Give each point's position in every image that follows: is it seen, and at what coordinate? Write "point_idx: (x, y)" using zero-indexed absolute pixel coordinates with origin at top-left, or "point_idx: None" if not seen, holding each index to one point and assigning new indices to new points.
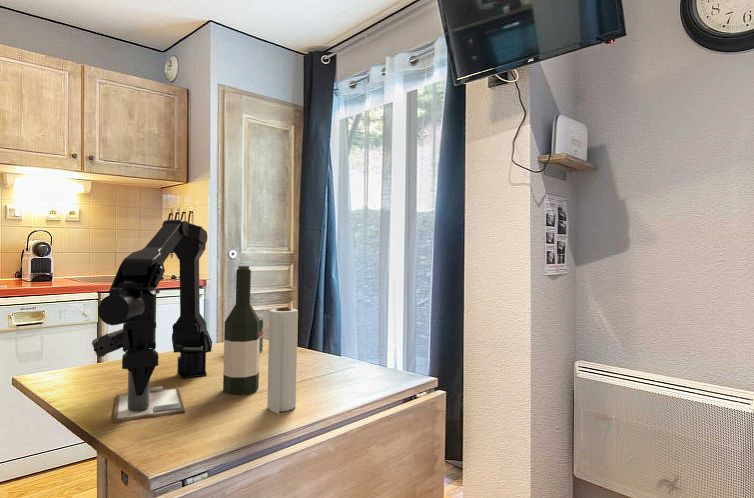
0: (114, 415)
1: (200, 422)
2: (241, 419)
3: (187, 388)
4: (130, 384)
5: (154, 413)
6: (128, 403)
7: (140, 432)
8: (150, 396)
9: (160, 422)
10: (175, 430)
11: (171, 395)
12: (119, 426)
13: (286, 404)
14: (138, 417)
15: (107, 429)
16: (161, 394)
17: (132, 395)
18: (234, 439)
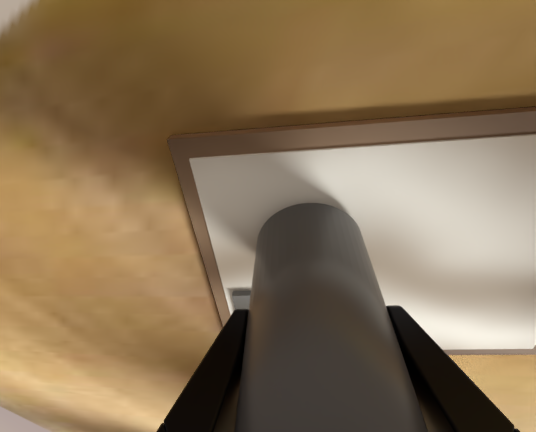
0: (250, 137)
1: (135, 368)
2: (148, 418)
3: (529, 366)
4: (264, 354)
5: (224, 290)
6: (286, 229)
7: (41, 247)
8: (496, 276)
9: (146, 297)
10: (69, 326)
11: (442, 336)
12: (109, 171)
13: None
14: (197, 240)
15: (66, 120)
16: (491, 311)
17: (255, 289)
18: (21, 399)
